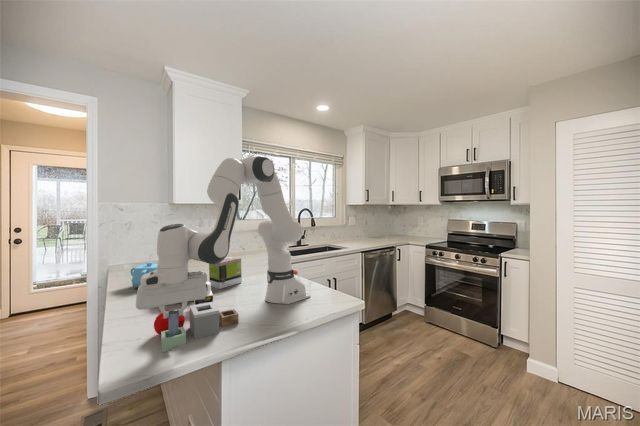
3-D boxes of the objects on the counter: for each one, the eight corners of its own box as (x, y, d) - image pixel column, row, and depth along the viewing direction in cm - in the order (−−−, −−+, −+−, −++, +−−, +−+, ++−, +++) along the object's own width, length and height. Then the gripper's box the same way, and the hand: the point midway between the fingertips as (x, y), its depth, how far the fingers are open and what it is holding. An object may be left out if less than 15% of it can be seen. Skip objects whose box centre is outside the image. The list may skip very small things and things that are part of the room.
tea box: (231, 280, 164) (231, 256, 164) (242, 283, 158) (241, 258, 158) (208, 286, 152) (208, 260, 152) (219, 289, 146) (219, 262, 146)
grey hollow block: (212, 324, 103) (212, 301, 102) (219, 335, 94) (219, 310, 94) (189, 330, 98) (189, 305, 98) (194, 341, 90) (194, 315, 90)
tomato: (148, 340, 90) (148, 316, 90) (164, 327, 101) (164, 304, 100) (177, 340, 91) (176, 315, 91) (190, 326, 101) (189, 304, 101)
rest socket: (183, 338, 92) (183, 326, 92) (186, 346, 87) (186, 334, 87) (161, 343, 89) (161, 331, 89) (162, 352, 83) (162, 339, 83)
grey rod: (177, 337, 90) (177, 308, 90) (178, 341, 87) (178, 311, 87) (168, 340, 88) (168, 309, 88) (169, 343, 86) (169, 312, 86)
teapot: (138, 293, 139) (138, 267, 139) (126, 286, 149) (126, 262, 149) (174, 285, 154) (174, 261, 153) (162, 279, 164) (162, 257, 163)
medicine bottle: (194, 314, 113) (194, 285, 113) (194, 308, 119) (194, 281, 119) (213, 311, 116) (213, 283, 116) (211, 305, 122) (211, 279, 122)
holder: (233, 320, 107) (233, 308, 107) (238, 325, 102) (238, 314, 102) (218, 323, 104) (218, 312, 104) (222, 329, 99) (222, 317, 99)
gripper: (205, 268, 96) (205, 306, 96) (135, 276, 84) (136, 320, 85) (209, 272, 90) (209, 312, 91) (135, 281, 79) (136, 327, 79)
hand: (173, 316), depth 88 cm, fingers closed on grey rod, 3 cm apart
